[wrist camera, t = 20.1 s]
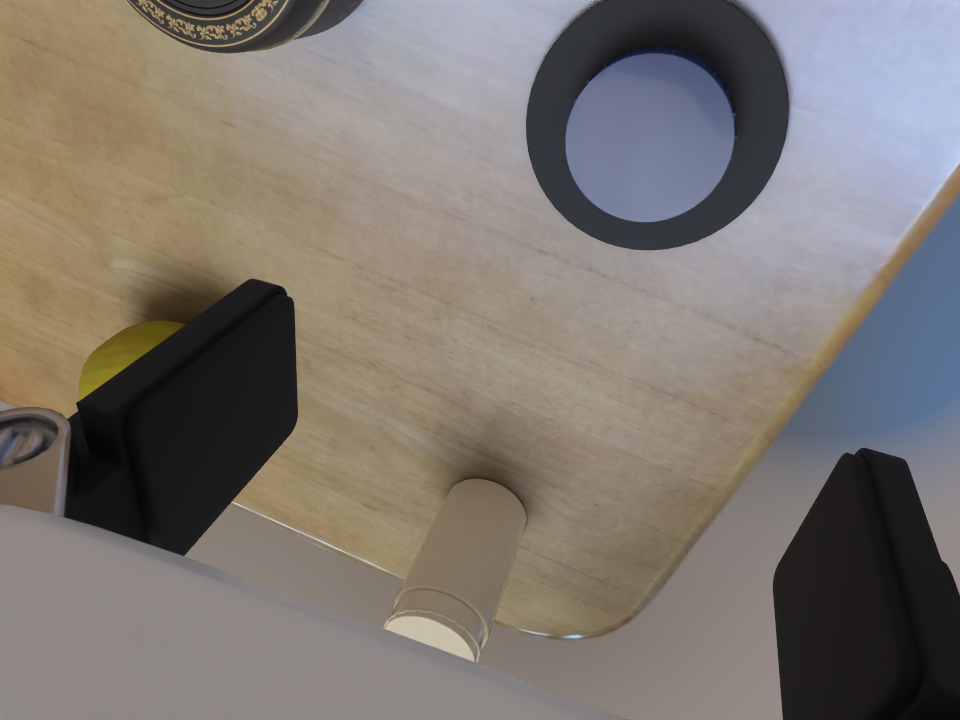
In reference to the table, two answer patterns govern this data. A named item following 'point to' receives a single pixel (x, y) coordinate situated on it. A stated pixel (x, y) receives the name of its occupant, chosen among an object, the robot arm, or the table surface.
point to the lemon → (123, 352)
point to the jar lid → (651, 134)
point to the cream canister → (461, 569)
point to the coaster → (691, 27)
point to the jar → (242, 21)
